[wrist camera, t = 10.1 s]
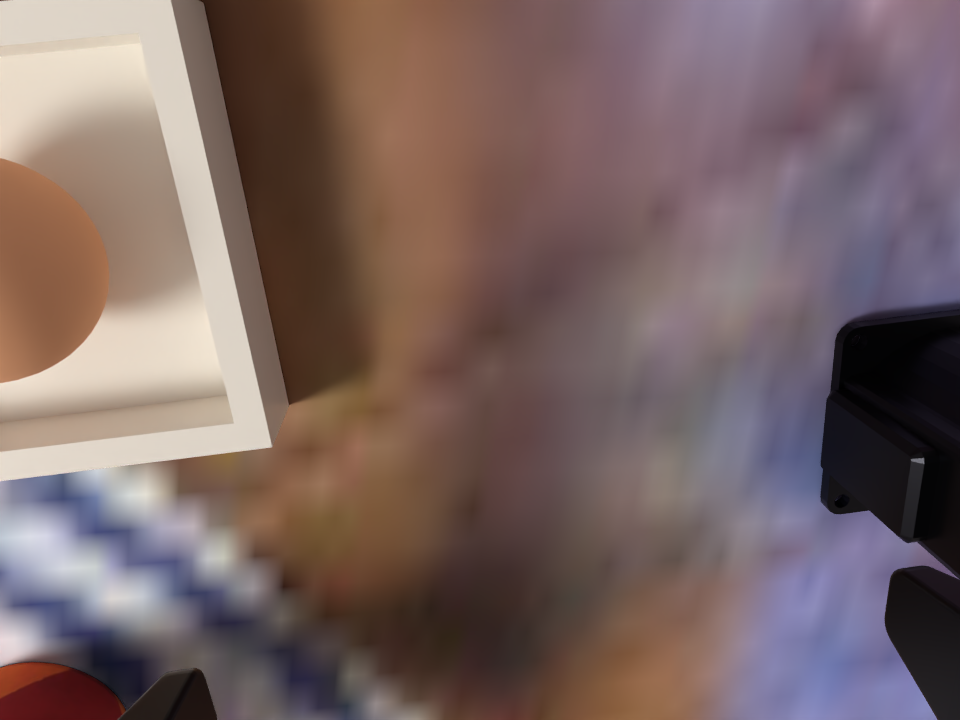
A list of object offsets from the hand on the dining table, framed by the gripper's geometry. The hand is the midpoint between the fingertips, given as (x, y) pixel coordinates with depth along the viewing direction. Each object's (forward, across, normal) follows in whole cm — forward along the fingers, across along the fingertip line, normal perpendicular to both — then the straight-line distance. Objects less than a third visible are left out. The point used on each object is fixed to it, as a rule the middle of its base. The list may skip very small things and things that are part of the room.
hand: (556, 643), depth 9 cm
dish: (+12, +11, -4) cm, 17 cm away
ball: (+11, +11, -4) cm, 16 cm away
